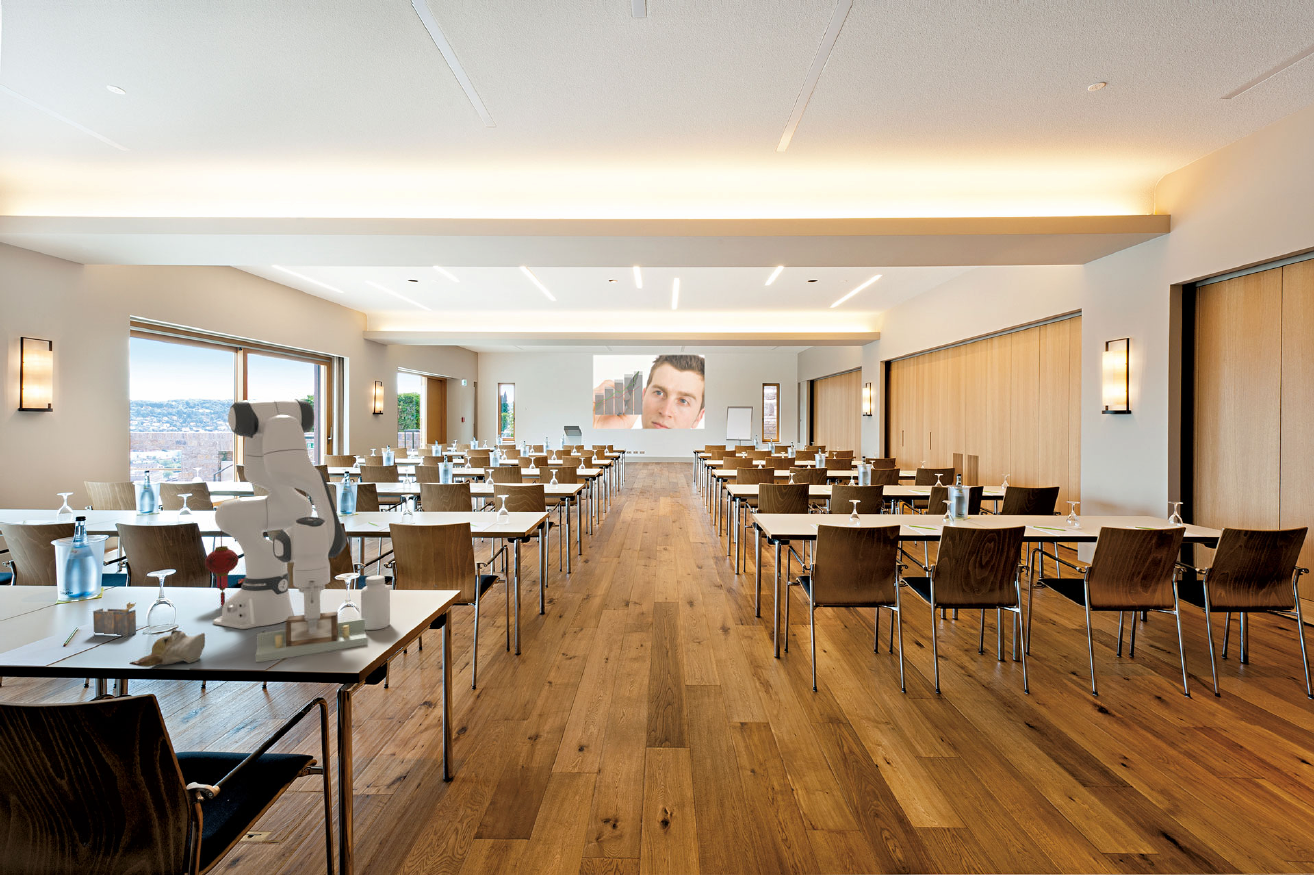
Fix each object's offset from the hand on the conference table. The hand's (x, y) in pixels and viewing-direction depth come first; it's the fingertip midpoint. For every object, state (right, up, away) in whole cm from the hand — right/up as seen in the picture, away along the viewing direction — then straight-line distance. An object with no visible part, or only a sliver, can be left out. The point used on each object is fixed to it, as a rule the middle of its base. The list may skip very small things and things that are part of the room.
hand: (312, 628), depth 172 cm
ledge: (0, -6, 0) cm, 6 cm away
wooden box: (0, -4, 0) cm, 4 cm away
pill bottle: (+9, -5, +19) cm, 21 cm away
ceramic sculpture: (-31, -7, -9) cm, 33 cm away
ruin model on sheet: (-65, -7, +13) cm, 67 cm away
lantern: (-54, -5, +42) cm, 69 cm away
